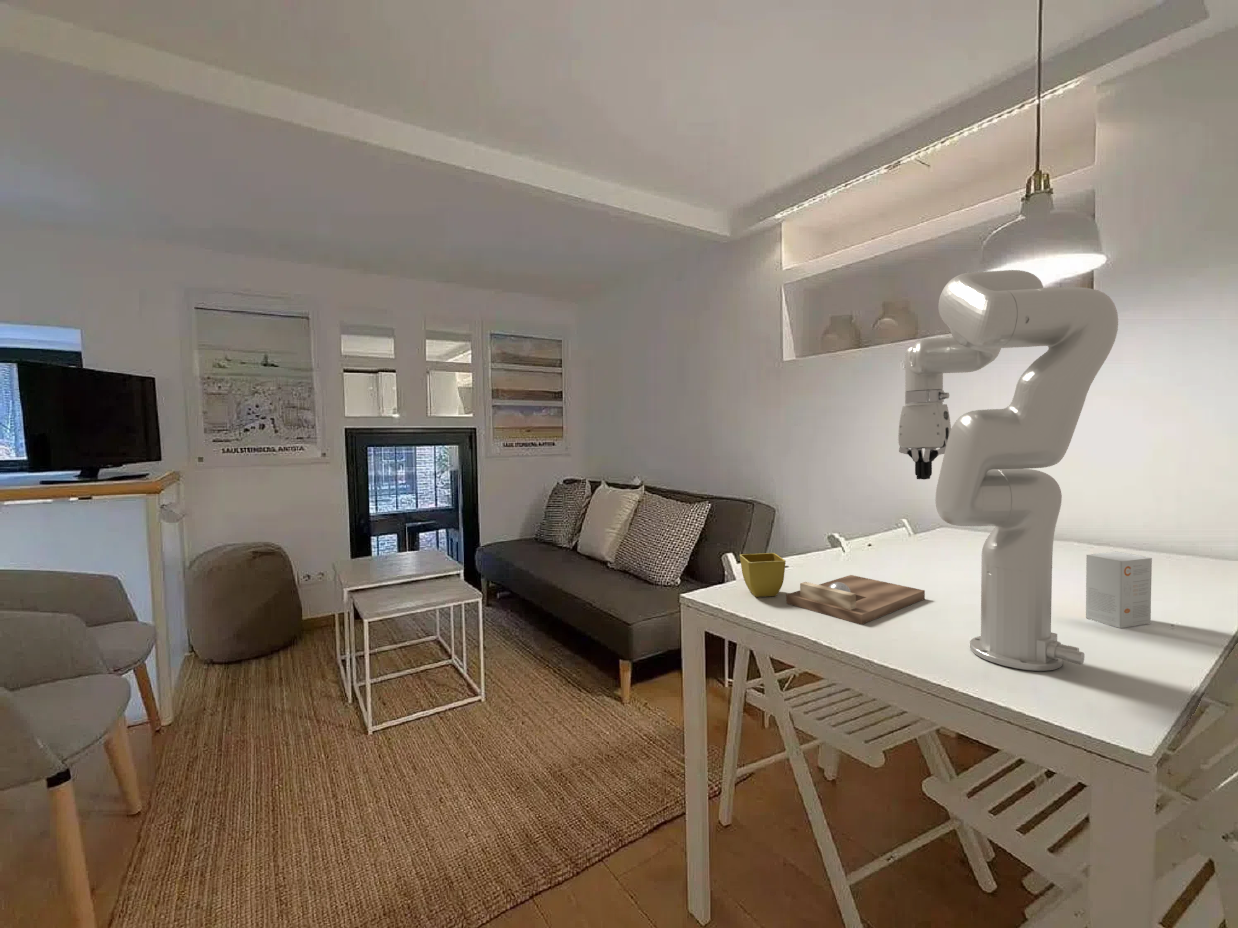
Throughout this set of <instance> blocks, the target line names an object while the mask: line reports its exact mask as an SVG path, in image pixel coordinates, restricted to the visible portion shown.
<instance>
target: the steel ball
mask: <svg viewBox="0 0 1238 928" xmlns="http://www.w3.org/2000/svg"><path fill="white" fill-rule="evenodd" d="M829 587H830V588H834V589H838V590H842V591H846V592H851V591H850V589H849V587H848V586H847V585H845V584H844V583H841V582H835V583H832V584H831V585H830V586H829Z"/></svg>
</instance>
